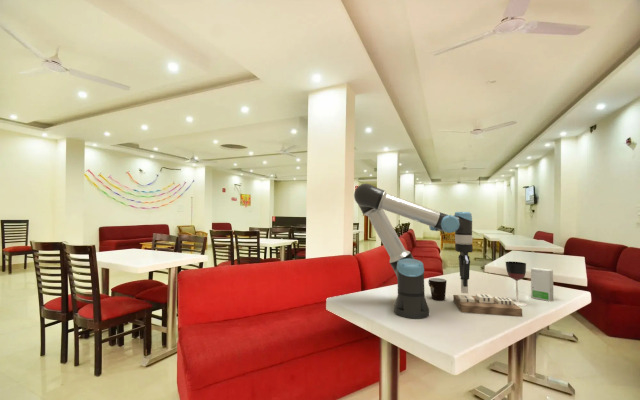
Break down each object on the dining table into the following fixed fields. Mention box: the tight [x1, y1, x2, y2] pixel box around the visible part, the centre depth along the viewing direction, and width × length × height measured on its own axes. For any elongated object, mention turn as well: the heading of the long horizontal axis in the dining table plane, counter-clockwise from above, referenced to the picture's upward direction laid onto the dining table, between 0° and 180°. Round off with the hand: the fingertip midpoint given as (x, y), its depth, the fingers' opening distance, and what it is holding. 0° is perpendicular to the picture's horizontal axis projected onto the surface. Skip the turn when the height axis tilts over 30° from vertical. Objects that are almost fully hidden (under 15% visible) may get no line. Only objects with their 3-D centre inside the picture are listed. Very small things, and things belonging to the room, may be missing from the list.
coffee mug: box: [427, 277, 447, 302], centre depth 152 cm, size 12×9×10 cm
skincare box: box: [530, 267, 554, 302], centre depth 150 cm, size 8×7×16 cm
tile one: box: [457, 294, 475, 303], centre depth 137 cm, size 6×6×3 cm
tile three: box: [493, 296, 514, 305], centre depth 133 cm, size 6×6×3 cm
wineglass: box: [505, 260, 528, 307], centre depth 142 cm, size 8×9×20 cm
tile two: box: [475, 293, 494, 303], centre depth 135 cm, size 6×6×3 cm
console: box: [453, 294, 523, 318], centre depth 135 cm, size 24×18×3 cm
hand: (464, 292), depth 137 cm, fingers closed
